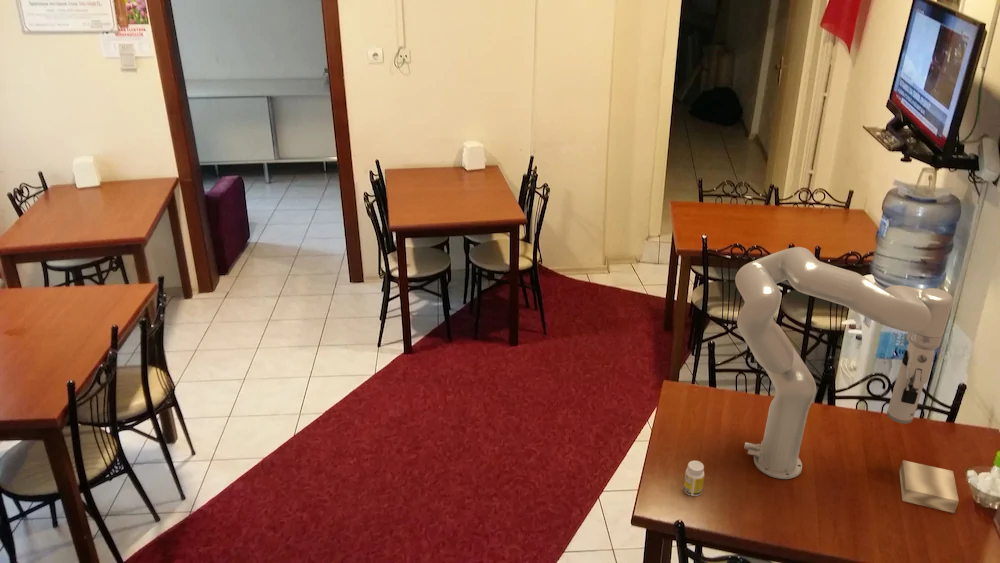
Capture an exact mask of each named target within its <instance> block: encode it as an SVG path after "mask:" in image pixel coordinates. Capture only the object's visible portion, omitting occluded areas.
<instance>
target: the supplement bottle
mask: <svg viewBox="0 0 1000 563" xmlns="http://www.w3.org/2000/svg"><path fill="white" fill-rule="evenodd" d="M704 468H705V466H704V464H703V463H702V462H701V461H700V460H690V461H689V462H688V464H687V467H686V469H685V475H684V482H683V483H684V484H683V491H684V493H685V492H686V494H687V495H688V496H690V495H691V496H692V497H698V496H700V495H701V494H702V493H703V487H704V481H705V470H704Z"/></svg>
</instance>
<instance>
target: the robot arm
mask: <svg viewBox="0 0 1000 563" xmlns="http://www.w3.org/2000/svg"><path fill="white" fill-rule="evenodd" d="M734 280H735V281H734V283H735V285H736V286H735V287H736V288H737V290H738V292H739V293H740V295H741V297H742V299H743V301H744V303H743V306H742V308H741V310H740V312H739V313H738V316H737V320H736V325H737V329H738V331H739V333H740V335H741V336H742V338H743V339H744V341H745V343H746V345H747V346H748V348H749V349H750V351H751V353H752V355H753V357H754V359H755V360H756V362H758V364H759V365H760V366H761V367H762V368H764V370H765V371H766V374H767V375H768V377H769V379H770V381H771V383H772V385H773V387H774V390H775V395H774V397H773V399H772V400H771V402H770V405H769V408H768V414H767V419H766V424H765V429H764V434H763V439H762V440H761V441H760V443H752V442H747V441H744V446H743V447H744V450H748V451H747V455H751V456H753V463H754V465H755V466H756V468H757V469H758V470H759V471H760V472H762V473H763V474H765V475H767V476H769V477H771V478H775V479H778V480H779V479H780V480H790V479H793V478H796V477H798V476H799V475H800V474H801V473H802V469H803V462H802V461H801V459H800V457H799V455H800V449H801V445H802V440H803V437H804V436H803V435H804V433H805V432H804V431H805V427H806V424H807V420H808V414H809V411H810V408H811V406H812V403H813V401H814V399H815V396H816V394H817V385H816V381H815V379H814V377H813V375H812V373H811V372H810V370H809V368H808V367H807V365H806V364H805V362H804V361H803V359H802V358H801V356H800V355H799V352H797V350H796V349H795V347H794V346H793V344H792V343H791V341H790V340H789V337H788V336H787V335H786V333H785V332H784V330H783V329H782V328H781V326H780V325H779V324H778V323H776V322H775V320H774V317H775V314H776V313H777V312H778V309H779V308H780V305H781V302H782V293H781V289H780V288H779V286H778V285H777V284H779V283H782V282H785V281H786V280H787V281H788V282H789V284H790V286H791V287H792V288H793V289H795V290H796V291H797V292H799V293H802V294H804V295H808V296H812V297H814V298H818V299H822V300H825V301H828V302H831V303H833V304H838V305H840V306H844V307H846V308H847V309H850V310H852V311H853V312H855V313H857V314H860V315H861V316H864V317H866V318H867V319H869V320H871V321H874V322H876V323H878V324H880V325H882V326H885V327H888V328H891V329H893V330H896V331H897V330H899V331H900V332H901V331H902V332H906V340H907V341H908V345H907V348H906V350H907V356H908V363H907V368H906V379H907V380H908V381H907V386H906V388H904V391H903V395H902V398H901V402H904V403H909V404H915V402H916V398H917V395H918V392H919V387H920V382H921V379H922V383H924V385H925V384H928V381H929V377H930V373H931V370H932V366H933V361H934V357H935V351H936V349H938V348H940V345H941V343H942V339H943V335H944V332H945V330H946V327H947V326H946V325H947V322H948V319H949V316H950V314H951V311H952V310H951V309H952V307H953V303H954V298H953V296H952V295H951V294H950V293H949V292H947V291H946V290H944V289H940V288H934V287H928V288H918V287H913V286H906V285H902V284H901V285H900V284H898V285H891V286H888V287H886V288H885V289H882V288H880V287H879V286H878V285H877V284H875V283H873V282H872V281H871V280H870V279H868V278H867V277H865V276H863V275H861V274H860V273H858V272H856V271H852V270H849V269H845V268H842V267H838V266H835V265H832V264H829V263H826V262H824V261H821V260H818V258H816V256H815V255H814V254H813V252H812V251H810V249H808V248H806V247H801V246H795V247H790V248H786V249H783V250H780V251H777V252H773V253H771V254H769V255H765V256H763V257H759V258H757V259H756V260H752V261H750V262H748V263H746V264H744V265H742V267H740V268H739V269H738V271H737V273H736V274H735V277H734ZM912 376H914V379H910V378H911V377H912ZM911 381H912V382H913V385H910V382H911Z"/></svg>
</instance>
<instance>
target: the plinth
mask: <svg viewBox="0 0 1000 563" xmlns="http://www.w3.org/2000/svg"><path fill="white" fill-rule="evenodd" d="M898 471H899V481H900V489H901V490H900V492H901V500H902V502H905V503H909V504H915V505H918V506H923V507H926V508H931V509H935V510H940V511H944V512H948V513H952V514H955V513H956V511H957V507H958V505H959V502H960V501H959V500H960V499H959V495H958V490H957V489H958V488H957V485H956V479H955V475H954V471H953V470H950V469H945V468H940V467H936V466H932V465H931V466H930V465H928V464H927V465H926V464H923V463H917V462H913V461H909V460H905V459H904V460H903V459H902V462H901V465H900V468H899V470H898Z"/></svg>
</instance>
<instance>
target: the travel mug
mask: <svg viewBox="0 0 1000 563" xmlns="http://www.w3.org/2000/svg"><path fill="white" fill-rule="evenodd" d="M902 357H903V358H902V359H901V363H900V366H899V369H898V372H897V377H896V379H895V382H894V387H893V389H892V390H893V391H892V394H891V397H890V401H889V403H888V408H887V411H886V415H887V417H888V418H889V419H890V420H891V421H893V422H896V423H898V424H910V423H911V422H913V421H914V417H915V414H916V410H917V408H918V405H919V402H920V397H921V395H922V392H923V389H924V385H925V384H924V383H922V379H921V382H920V387H919V392H918V395H917V398H916V402H915V404H909V403H904V402H901V398H902V395H903V391H904V388H906V386H907V381H908V380H907V379H906V368H907V363H908V356H907V349H906V350H905V351H904V354H903V356H902ZM910 379H914V376H912V377H911V378H910ZM910 385H913V382H912V381H911V382H910Z"/></svg>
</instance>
